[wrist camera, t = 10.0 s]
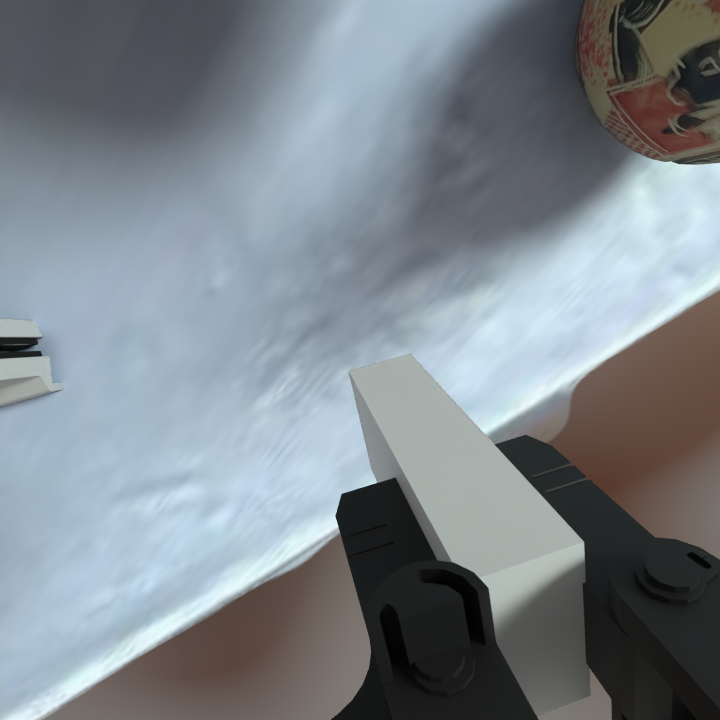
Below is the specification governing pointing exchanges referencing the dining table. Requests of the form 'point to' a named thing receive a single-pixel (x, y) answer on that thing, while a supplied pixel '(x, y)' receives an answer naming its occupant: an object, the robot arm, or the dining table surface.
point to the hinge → (23, 363)
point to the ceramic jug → (654, 75)
